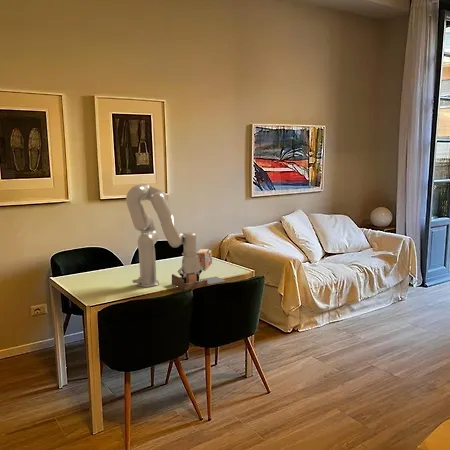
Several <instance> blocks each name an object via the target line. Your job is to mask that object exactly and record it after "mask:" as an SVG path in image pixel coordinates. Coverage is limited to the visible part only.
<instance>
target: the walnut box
mask: <svg viewBox="0 0 450 450" xmlns="http://www.w3.org/2000/svg"><path fill="white" fill-rule="evenodd" d="M171 284H172V285H173V286H174V285H175V287H176V286H178V287H177V288H178V289H179V290H181V291H188V290H193V289H194V290H195V289H198V288H203V287H208V284H207V280H203V281H201V280H199V281H197V282H191V283H186V284H184V280H183V279H182V277H181V276H177V275H176V274H174V273H172V274H171Z"/></svg>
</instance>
